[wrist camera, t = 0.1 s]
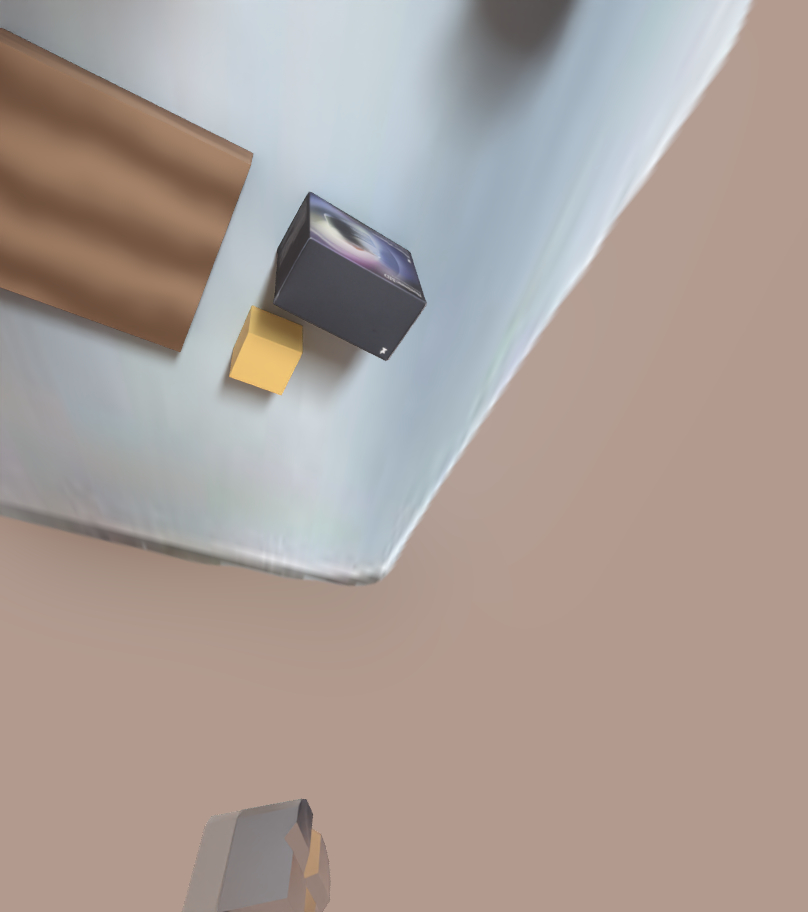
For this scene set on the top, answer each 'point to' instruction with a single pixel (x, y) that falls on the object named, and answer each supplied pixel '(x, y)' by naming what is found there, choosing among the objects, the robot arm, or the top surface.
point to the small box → (347, 278)
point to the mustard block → (266, 351)
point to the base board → (107, 197)
